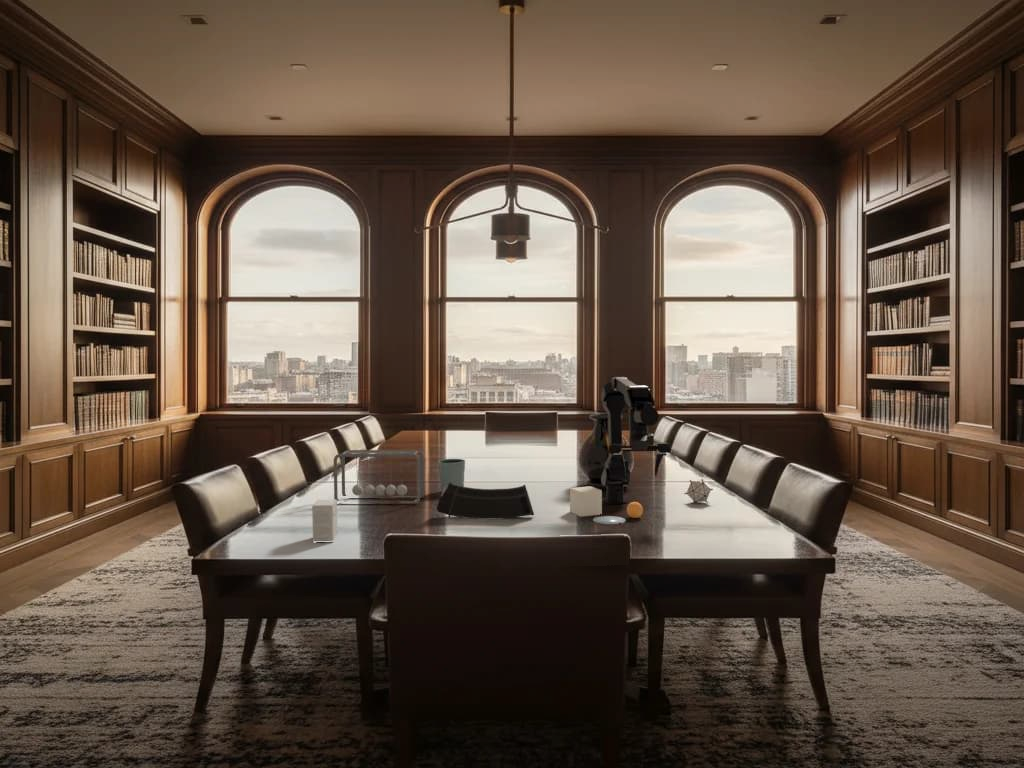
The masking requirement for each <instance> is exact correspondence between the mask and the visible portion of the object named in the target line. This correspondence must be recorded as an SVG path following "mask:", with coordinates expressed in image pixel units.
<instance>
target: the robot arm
mask: <svg viewBox="0 0 1024 768" xmlns="http://www.w3.org/2000/svg"><path fill="white" fill-rule="evenodd" d="M600 400H601V402H602V407H603V409H604V410H605V413H606V414H608V436H609V457H608V459H607V461H606V462H605V468H604V470H603V473H602V476H601V483H602V484H603V485H604V486H606V489H605V490H606V495H605V496H606V498H605V499H603V498H602V502H605V503H607V504H609V505H617V504H618V505H619V504H628V500H624V498H625V497H624V495H625V494H624V492H625V491H624V487H623V485H626V486H629V484H630V478H631V477H630V476H631V472H630V470H629V468H628V461H627V460H625V458H624V457H623V452H627V451H632V452H656V454H655V465H654V478H655V477H657V475H658V472H659V467H660V465H661V461H662V459H663V457H664V456H665V457H666V456H667V454H668V453H669V454H670V453H672V450H671V448H672V447H671V444H670V443H668V442H667V443H666V442H661V443H660V442H657V443H656V445H655V441H654V433H649V427H650V426H653V425H655V424H656V423H657V422H658V421H659V417H660V415H659V412H658V409H656V408H655V406H656V405H655V402H656V400H655V398H654V396H653V394H652V391H651V389H650V388H649V386H647V385H644V384H642V385H641V384H639V385H638V384H636V383H634V382H633V381H631V380H629V379H628V377H626V376H614V377H612V378H611V380H610V382H607V383H606V384H605V385H603V387H602V390H601V392H600ZM626 405H627V406H628V409H627V411H628V425H629V426H628V429H629V430H628V431H629V438H628V439H629V444H630V446H622V435H623V431H622V429H623V427H622V426H623V425H622V419H621V415H622V412H623V411H624V409H625V407H626ZM607 481H608V482H607Z"/></svg>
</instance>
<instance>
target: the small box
mask: <svg viewBox="0 0 1024 768" xmlns="http://www.w3.org/2000/svg"><path fill="white" fill-rule="evenodd" d="M311 508H312V509H311V510H312V512H311V513H312V542H313V541H332V540H334V538H335V536H336V535H337V536H338V504H337V500H335V499H317V500H316V501H315V502H314V504H313V505H311ZM337 536H336V537H337ZM335 539H336V538H335ZM334 541H335V540H334Z"/></svg>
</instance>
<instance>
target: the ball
mask: <svg viewBox="0 0 1024 768" xmlns="http://www.w3.org/2000/svg"><path fill="white" fill-rule="evenodd" d="M643 512H644V509H643V506H642V504H641V503H639V502H638V501H632V502H630V503H629V504H628V505H627V507H626V513H627V515H628V516H629V517H630V518H632V519H637V518H640V517H641V516H642V514H643Z"/></svg>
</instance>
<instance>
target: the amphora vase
mask: <svg viewBox="0 0 1024 768" xmlns="http://www.w3.org/2000/svg"><path fill="white" fill-rule="evenodd" d="M589 419H591V420H592V421H594V427H593V430H592V431H591V433H589V434H588V436H587V437H586V438H585V439H584V440H583V442H582V444H581V445H580V449H579V453H578V467H579V470H580V471H581V473H582V474H583V475H584V477H586V479H585V480H584V484H585V486H586V487H588V486H591V487H594V488H597V489H600V490H606V486H604V485H603V484H602V483H601V476H602V473H603V470H604V468H605V462H606V461H607V459H608V457H609V436H608V414H607V413H593V414H589ZM622 419H623V415H622V414H621V420H622ZM622 446H630V441H628V439H627V438H626V437H625V436H624V435H623V434H622ZM623 457H624V458H625V460H627V461H628V468H629V470H630V473H632V471H633V468H634V465H635V457H634V451H627V452H623ZM607 482H608V481H607ZM626 486H627V485H623V488H625V487H626Z"/></svg>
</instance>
